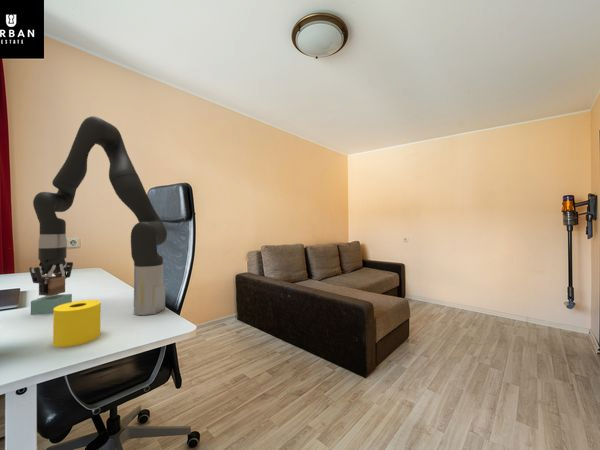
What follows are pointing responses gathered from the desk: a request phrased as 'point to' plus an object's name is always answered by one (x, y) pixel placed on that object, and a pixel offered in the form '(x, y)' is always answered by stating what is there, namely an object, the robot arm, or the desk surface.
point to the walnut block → (55, 285)
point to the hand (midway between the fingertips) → (52, 291)
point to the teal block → (49, 303)
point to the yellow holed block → (76, 323)
